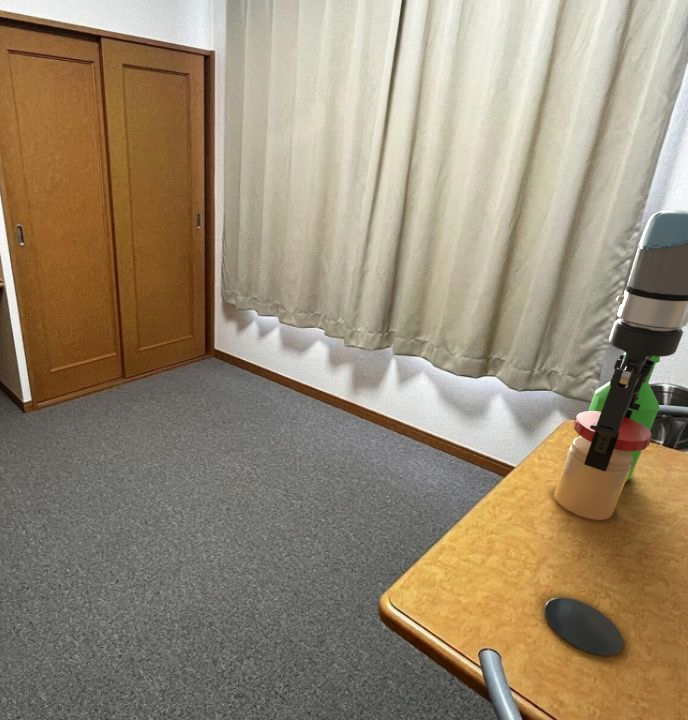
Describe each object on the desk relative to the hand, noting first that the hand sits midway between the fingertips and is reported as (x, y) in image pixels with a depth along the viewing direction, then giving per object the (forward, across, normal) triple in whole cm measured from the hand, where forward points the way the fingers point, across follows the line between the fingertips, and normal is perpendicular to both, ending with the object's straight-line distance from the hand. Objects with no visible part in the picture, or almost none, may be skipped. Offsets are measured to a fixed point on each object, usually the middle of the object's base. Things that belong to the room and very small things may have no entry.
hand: (602, 454), depth 77 cm
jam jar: (+11, 0, 0) cm, 11 cm away
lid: (-5, 0, 0) cm, 5 cm away
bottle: (+11, -14, -1) cm, 17 cm away
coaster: (+11, +28, +6) cm, 30 cm away
